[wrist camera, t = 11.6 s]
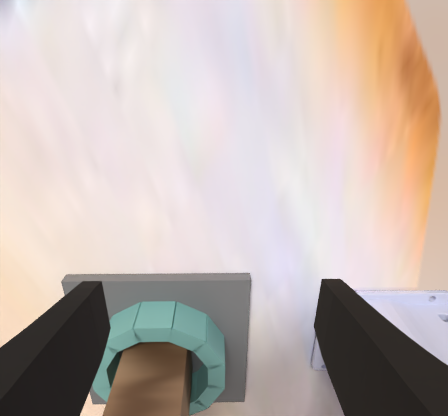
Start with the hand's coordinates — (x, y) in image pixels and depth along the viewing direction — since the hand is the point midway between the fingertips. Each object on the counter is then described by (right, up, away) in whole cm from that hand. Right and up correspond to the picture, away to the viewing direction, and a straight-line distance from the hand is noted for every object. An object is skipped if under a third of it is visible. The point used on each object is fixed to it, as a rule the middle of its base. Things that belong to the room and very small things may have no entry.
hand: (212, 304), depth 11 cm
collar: (-4, -7, +15) cm, 17 cm away
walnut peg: (-4, -8, +14) cm, 17 cm away
